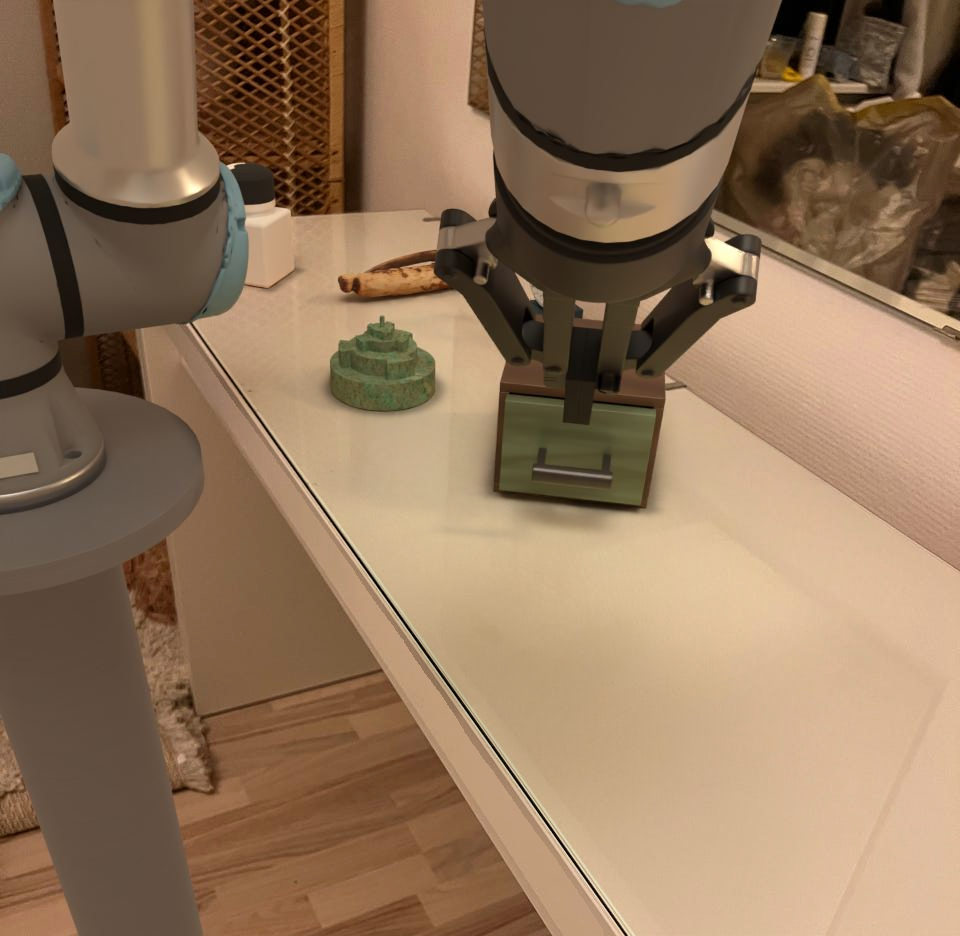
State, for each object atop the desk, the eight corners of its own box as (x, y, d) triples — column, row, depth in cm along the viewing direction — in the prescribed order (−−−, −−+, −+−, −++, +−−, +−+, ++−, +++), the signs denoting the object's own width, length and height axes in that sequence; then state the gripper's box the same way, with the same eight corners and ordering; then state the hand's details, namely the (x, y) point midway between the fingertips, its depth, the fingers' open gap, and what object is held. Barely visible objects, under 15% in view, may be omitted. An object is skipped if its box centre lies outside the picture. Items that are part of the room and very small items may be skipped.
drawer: (640, 533, 76) (656, 441, 71) (492, 517, 76) (498, 425, 72) (641, 428, 89) (655, 345, 84) (516, 415, 90) (522, 332, 85)
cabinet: (646, 508, 80) (665, 398, 74) (492, 491, 81) (499, 381, 75) (646, 427, 92) (663, 326, 86) (511, 413, 93) (519, 312, 87)
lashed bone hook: (453, 270, 124) (318, 285, 116) (455, 230, 121) (316, 243, 113) (490, 292, 117) (349, 309, 110) (493, 251, 114) (348, 266, 107)
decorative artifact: (353, 418, 90) (452, 400, 94) (351, 344, 86) (454, 328, 90) (316, 375, 97) (409, 360, 101) (311, 304, 93) (409, 291, 96)
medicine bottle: (295, 270, 120) (288, 163, 112) (268, 289, 114) (259, 178, 107) (242, 261, 121) (231, 155, 114) (213, 280, 116) (199, 169, 108)
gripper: (391, 235, 31) (453, 453, 55) (807, 273, 30) (689, 479, 54) (423, 16, 32) (470, 324, 56) (829, 47, 31) (704, 347, 55)
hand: (578, 400), depth 55 cm, fingers closed
